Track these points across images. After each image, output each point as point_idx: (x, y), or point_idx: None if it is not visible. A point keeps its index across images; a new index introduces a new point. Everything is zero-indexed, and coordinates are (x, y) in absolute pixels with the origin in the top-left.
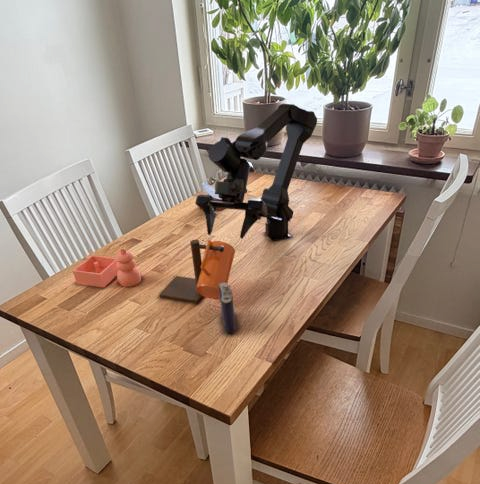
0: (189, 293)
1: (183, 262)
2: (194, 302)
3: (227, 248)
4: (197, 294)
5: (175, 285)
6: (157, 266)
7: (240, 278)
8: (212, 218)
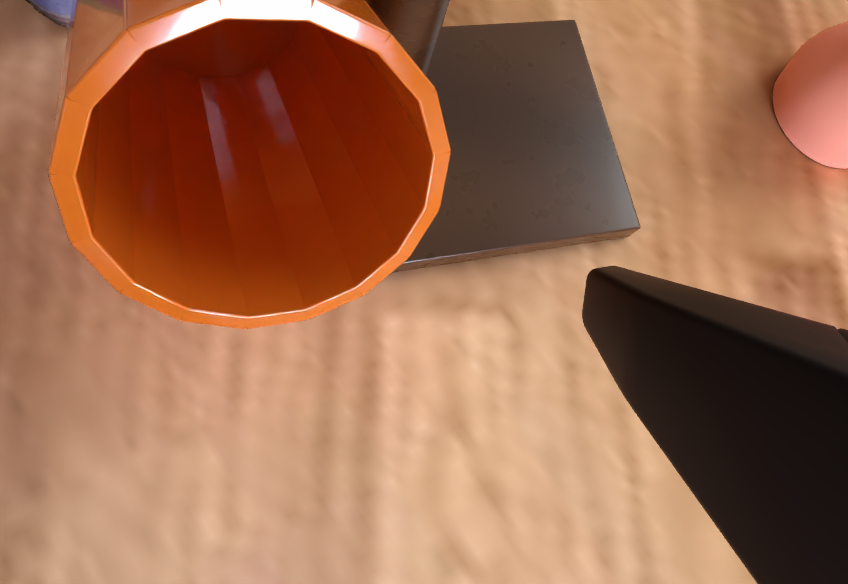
0: None
1: None
2: None
3: (81, 47)
4: None
5: (560, 129)
6: (843, 317)
7: (206, 445)
8: (837, 542)
